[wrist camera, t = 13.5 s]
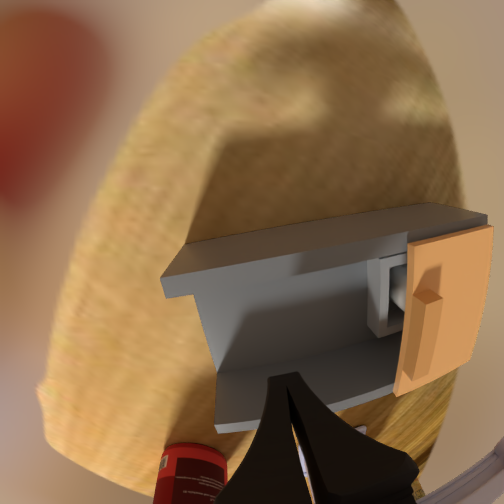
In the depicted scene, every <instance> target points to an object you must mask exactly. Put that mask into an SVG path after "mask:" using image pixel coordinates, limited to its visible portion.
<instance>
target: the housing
mask: <svg viewBox="0 0 504 504" xmlns="http://www.w3.org/2000/svg"><path fill="white" fill-rule="evenodd" d="M483 225H487V215H486V214H481V213H478V212H473V211H469V210H465V209H460V208H456V207H451V206H446V205H441V204H436V203H431V202H430V203H423V204H416V205H409V206H402V207H396V208H389V209H383V210H376V211H370V212H363V213H357V214H351V215H345V216H339V217H333V218H327V219H321V220H315V221H309V222H303V223H297V224H291V225H286V226H280V227H274V228H269V229H263V230H258V231H252V232H247V233H241V234H236V235H231V236H225V237H220V238H215V239H209V240H204V241H199V242H194V243H189V244H184V246H183V247H182V248H181V250H180V251H179V252H178V254H177V255H176V256H175V258H174V259H173V261H172V262H171V263H170V265H169V266H168V268H167V269H166V270H165V272H164V273H163V275H162V276H161V277H160V280H161V284H162V287H163V290H164V294H165V297H166V299H167V298H173V297H180V296H186V295H192V294H193V295H194V298H195V302H196V305H197V309H198V313H199V316H200V320H201V323H202V326H203V330H204V333H205V336H206V340H207V343H208V346H209V349H210V352H211V356H212V359H213V362H214V365H215V368H216V371H217V382H216V400H215V419H214V426H215V428H216V430H217V432H218V434H220V433H230V432H239V431H247V430H254V429H258V426H259V423H260V420H261V417H262V414H263V410H264V405H265V401H266V395H267V384H268V383H267V379H268V378H269V377H271V376H276V375H281V374H286V373H291V372H296V371H297V372H299V373H300V375H301V376H302V378H303V379H304V381H305V382H306V384H307V385H308V386H309V387H310V389H311V390H312V391H313V392H314V393H315V395H316V396H317V397H318V398H319V399H320V400H321V401H322V402H323V403H324V404H325V405H326V406H327V407H328V408H329V409H330V410H331V411H332V412H338V411H341V410H344V409H348V408H351V407H354V406H357V405H360V404H363V403H366V402H369V401H372V400H374V399H377V398H380V397H382V396H385V395H388V394H390V393H393V388H394V383H395V378H396V373H397V367H398V361H399V355H400V349H401V341H402V334H403V325H404V315H405V312H404V311H403V310H402V309H401V308H400V307H398V306H397V305H396V304H395V303H394V302H392V301H391V300H390V299H389V270H390V269H391V268H392V267H394V266H398V265H402V264H405V263H407V243H412V242H416V241H421V240H425V239H429V238H434V237H438V236H442V235H446V234H450V233H455V232H459V231H463V230H467V229H471V228H475V227H479V226H483ZM291 423H292V422H291Z"/></svg>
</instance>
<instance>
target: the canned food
mask: <svg viewBox="0 0 504 504" xmlns="http://www.w3.org/2000/svg"><path fill="white" fill-rule="evenodd" d="M227 483H228V481H227V463H226V460H225V458H224V456H223V455H222V454H221V453H220V452H218V451H217V450H215V449H213V448H211V447H208V446H205V445H201V444H195V443H178V444H174V445H171V446H169V447H167V448H166V449H165V451H164V452H163V454H162V457H161V462H160V467H159V472H158V477H157V483H156V488H155V494H154V500H153V504H213V502H214V499H215V497H216V495H217V494H218V493H219V492H220V491H221V490H222V488H223V487H224V486H225V485H226V484H227Z"/></svg>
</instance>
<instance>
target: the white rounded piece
mask: <svg viewBox="0 0 504 504" xmlns="http://www.w3.org/2000/svg"><path fill="white" fill-rule="evenodd" d="M406 288H407V263H405V264H402V265H398V266H394V267H392V268H391V269H390V270H389V299H390V300H391V301H392V302H394V303H395V304H396V305H397V306H398V307H400V308H401V309H402V310H403V311H404V312H405V304H406Z"/></svg>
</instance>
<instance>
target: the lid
mask: <svg viewBox="0 0 504 504" xmlns="http://www.w3.org/2000/svg"><path fill="white" fill-rule="evenodd" d="M493 232H494V226H491V225H483V226H479V227H475V228H471V229H467V230H463V231H459V232H455V233H450V234H446V235H442V236H438V237H434V238H429V239H425V240H421V241H416V242H412V243H407V288H406V304H405V315H404V325H403V334H402V341H401V349H400V355H399V361H398V367H397V373H396V378H395V383H394V388H393V393H394V394H395V396H396V397H398V396H400V395H403V394H405V393H407V392H410V391H412V390H414V389H416V388H418V387H421V386H423V385H425V384H427V383H429V382H431V381H433V380H435V379H437V378H439V377H441V376H443V375H445V374H446V373H448V372H450V371H452V370H454V369H455V368H457V367H459V366H461V365H462V364H464V363H466V362H467V361H469V360H470V358H471V355H472V352H473V349H474V345H475V342H476V338H477V334H478V331H479V327H480V322H481V319H482V314H483V310H484V305H485V300H486V294H487V289H488V282H489V275H490V267H491V259H492V248H493Z"/></svg>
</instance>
